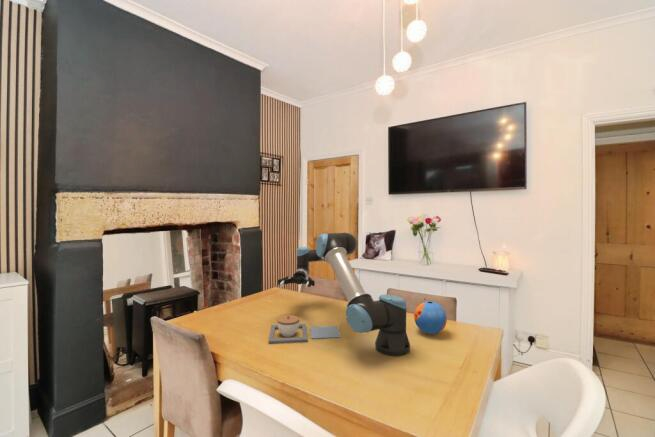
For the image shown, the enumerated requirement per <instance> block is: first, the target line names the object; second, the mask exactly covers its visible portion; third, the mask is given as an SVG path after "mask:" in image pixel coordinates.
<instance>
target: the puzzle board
mask: <svg viewBox="0 0 655 437" xmlns="http://www.w3.org/2000/svg"><path fill="white" fill-rule="evenodd" d="M298 329H302V336H300V337H299V336H297V337H295V336H294V337H293V336H292V337H277V338H275V332H276V330H279V329H278V324H271V325H270V332H269V334H268V335H269V336H268V342H267V343H268V345H272V344H292V343H293V344H294V343H308V342H309V339H308V329H307V323H299V328H298Z"/></svg>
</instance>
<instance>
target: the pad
mask: <svg viewBox="0 0 655 437" xmlns="http://www.w3.org/2000/svg"><path fill="white" fill-rule="evenodd" d="M309 330H310V336H311V337H310V338H311V340H321V339H324V340H325V339H341V338H342V336H341V333H340V331H339V328H338V325H325V326H310V327H309Z"/></svg>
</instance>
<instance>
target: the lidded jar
mask: <svg viewBox="0 0 655 437" xmlns="http://www.w3.org/2000/svg"><path fill="white" fill-rule="evenodd" d="M276 320H277V325H278V329H277V330H278V331H279V333H280V335H281V336H283V337H284V338H292V337H293V336H294V337H295V334H296V333H297V332H298V330H299V329H300V328H299V324H300V318H299V316H297V315H291V314H290V315H289V314H288V315H281V316H279V317H278V318H277V319H276Z"/></svg>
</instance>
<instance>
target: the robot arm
mask: <svg viewBox="0 0 655 437" xmlns="http://www.w3.org/2000/svg"><path fill="white" fill-rule="evenodd" d="M357 249H358V240H357V238H356V237H355V236H354V235H353V234H351V233H349V232H332V233H331V232H330V233H329V232H326V233H320V234H319V235H318V236H317V237H316V242H315V249H310V248H309V247H307V246H300V247H297V249H296V271H295V272H294V273H293V275H292V276H289V275H287V276H285V277H283V278H280V279H278V280H277V285H279V289H280V290H282V289H283V288H284V286H285V285H288V284H297V285H305V290H306V291H308V290H309V288H311V286H313V287H315V284H316V282H315V280H314V279H312V278H311V276H309V275H310V263H314V262H325V263H327V264H330V267H331V269H332V271H333V273H334V276H335V277H336V280H337V281H338V283H339V285H340V287H341V289H342V291H343V294H344V296H345V298H346V300H347V304H346V310H345V316H346V317H345V318H346V322H347V324H348V326H349V327H350V328H351V330H352V331H354V332H355V333H358V334H362V333H369V332H373V331H377V330H378V334H377V336H376V339H375V343H374V348H375V350H376V351H377V352H378V353H380V354H382V355H386V356H390V357H400V356H401V357H402V356H406V355H407V354H409V353H410V352H411V344H410V340H409V336H408V334H407V308H408V307H407V301H406V300H405V299H404V298H403V297H400V296H398V295H392V294H380V295H379V297H378V299H379V300H378V299H377V300H374V299H373V297H372V295H371V294H369V293H367V292H366V291H365V289H364V287H363V285H362V284H361V282H360V280H359V277H357V274H356V273H355V271H354V269H353V266H352V265H351V263H350V261H349V260H348V257H347V255H352V254H353V253H355V252H356V250H357ZM308 276H309V277H308Z"/></svg>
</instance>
